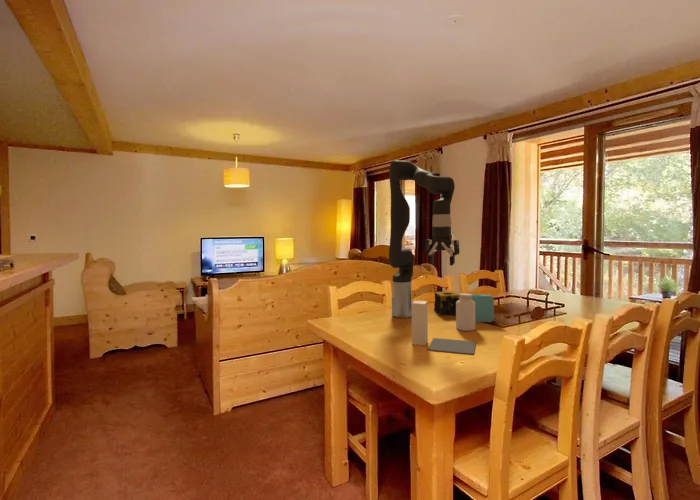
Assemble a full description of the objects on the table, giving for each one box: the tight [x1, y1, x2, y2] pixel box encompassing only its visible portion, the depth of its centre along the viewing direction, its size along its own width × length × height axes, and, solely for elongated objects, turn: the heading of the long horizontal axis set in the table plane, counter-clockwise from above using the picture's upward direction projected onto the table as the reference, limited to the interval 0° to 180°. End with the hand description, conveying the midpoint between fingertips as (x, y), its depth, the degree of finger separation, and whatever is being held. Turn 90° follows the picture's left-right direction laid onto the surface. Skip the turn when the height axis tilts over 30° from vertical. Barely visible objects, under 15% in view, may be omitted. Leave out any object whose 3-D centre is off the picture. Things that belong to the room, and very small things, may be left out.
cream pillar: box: [411, 300, 429, 347], centre depth 146 cm, size 5×5×16 cm
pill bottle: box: [455, 292, 476, 332], centre depth 164 cm, size 8×8×15 cm
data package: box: [471, 293, 495, 323], centre depth 177 cm, size 12×4×12 cm, turn 81°
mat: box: [427, 337, 477, 355], centre depth 142 cm, size 16×14×1 cm
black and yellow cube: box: [433, 290, 460, 316], centre depth 193 cm, size 10×10×10 cm
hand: (441, 264), depth 159 cm, fingers open, 8 cm apart
